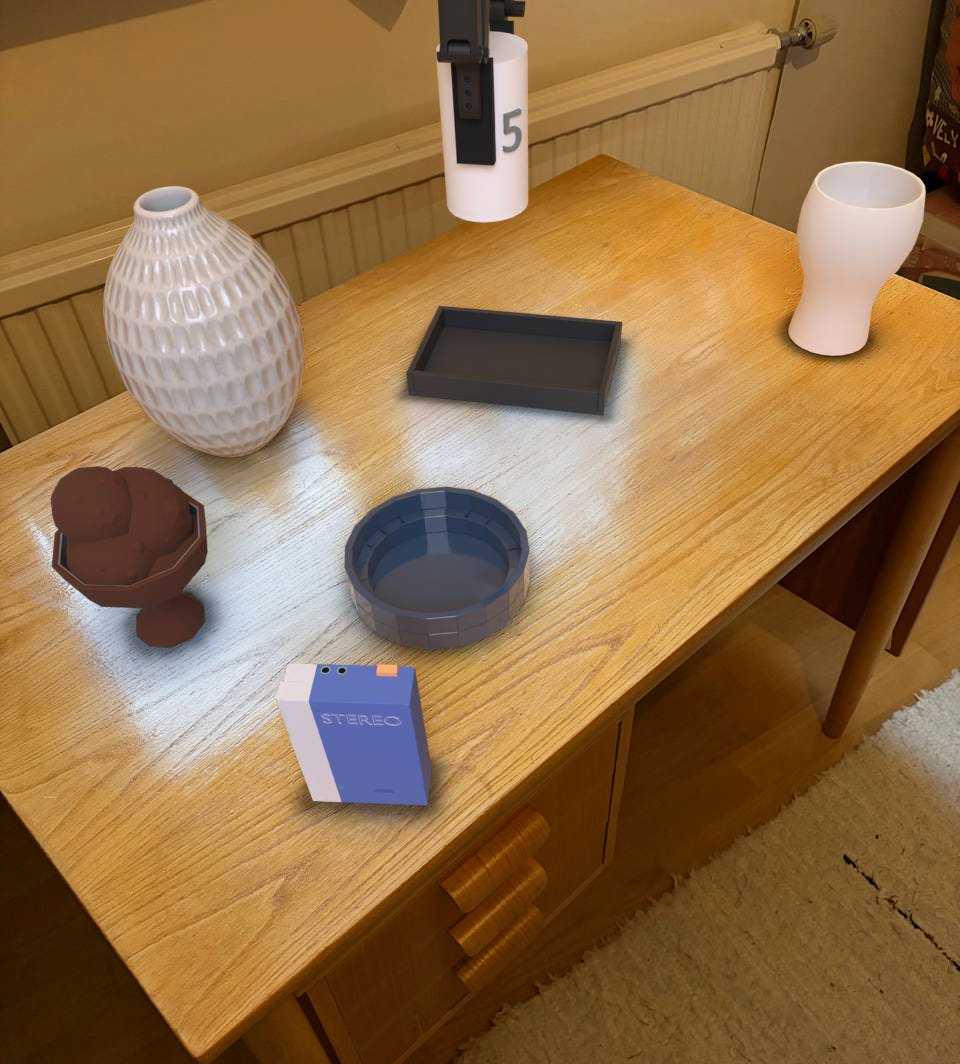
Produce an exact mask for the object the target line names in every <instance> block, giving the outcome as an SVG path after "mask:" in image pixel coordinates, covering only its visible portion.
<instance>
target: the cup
mask: <svg viewBox="0 0 960 1064" xmlns="http://www.w3.org/2000/svg"><path fill="white" fill-rule="evenodd" d="M926 193H927V191H926V186H925V184H924V182H923V181H922V179H921V178H920V177H918V176H917V175H916V174H914V173H913V172H911V171H909V170H906V169H904V168H903V167H899V166H896V165H892V164H890V163H889V164H888V163H883V162H877V161H846V162H842V163H836V164H833V165H831V166H828V167H825V168H824V169H823V170H821V171H819V172H818V173H817V175H816V176H815V177H814V180H813V182H812V183H811V186H810V187H809V190H808V192H807V194H806V196H805V198H804V201H803V202H802V204H801V209H800V213H799V218H798V222H797V228H796V242H797V256H798V260H799V263H800V266H801V270H802V274H803V283H802V290H801V297H800V300H799V301H798V303H797V306H796V308H795V311H794V313H793V314H792V317H791V320H790V323H789V325H788V329H787V330H788V332H787V333H788V336H789V338H790V340H792V342H793V343H794V345H797V346H798V347H800V348H801V349H803V350H805V351H808V352H810V353H814V354H817V355H818V354H819V355H822V356H832V357H833V356H836V357H837V356H845V355H850V354H853V353H855V352H858V351H860V350H861V349H862V348H864V347H865V346H866V343H867V342H868V338H869V332H870V327H871V318H872V309H873V306H874V304H875V303H876V302H875V301H876V300H877V298H878V295H879V294H880V291H881V289H882V288H883V287H884V285H885V284H886V283H887V282H888V281H890V279H891V278H892V277H894V275H895V274H896V273H897V272H898V271H899V270H900V269H901V267H902V265H903V264H904V262H905V261H906V259H907V258H908V257H909V255H910V253H911V252H912V250H913V249H914V248H915V247H914V246H915V245H916V243H917V240H918V237H919V235H920V231H921V228H922V225H923V223H924V214H925V206H926V205H925V204H926Z"/></svg>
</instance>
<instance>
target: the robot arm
mask: <svg viewBox="0 0 960 1064" xmlns="http://www.w3.org/2000/svg"><path fill="white" fill-rule="evenodd" d="M437 13H438V28H439V29H438V30H439V31H438V34H439V44H440V50H439V51H436V50H435V54H436V53H437V60H438V62H439V63H451V77H452V93H453V110H454V126H455V142H456V159H457V164H474V165H493V166H494V164H495V162H496V137H495V102H494V67H493V57H489V54H490V51H489V26H490V31H493V32H504V33H510V34H513V35H515V20H509V18H524V17H525V13H526V0H437Z"/></svg>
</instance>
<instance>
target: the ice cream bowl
mask: <svg viewBox="0 0 960 1064" xmlns="http://www.w3.org/2000/svg"><path fill="white" fill-rule="evenodd" d="M50 507H51V516H52V519H53V523H54V526H55V528H57V530H56V531H55V533H54V534H53V535H54V537H53V548H52V559H51V568H52V569H53V570H54V571H55V573H57V574H58V575H59V576H60V577H61V578H62V579H63V580H64V581H65V582H66V583H68V584H69V585H70V586H71V587H73V588H74V589H75V590H76V591H78V592H79V593H80V594H81V595H82V596H84V597H85V598H86V599H87V600H88V601H90V602H91V603H93V604H95V605H97V606H99V607H101V608H118V609H119V608H121V609H140V611H138V613H137V614H136V615H135V616H136V617H135V634H136V635H135V636H136V637H137V638H138V639H139V640H140V641H142V642H143V643H144V644H145V645H146V646H147V647H148V648H162V649H163V648H169V649H172V648H174V647H176V646H178V645H181V644H183V643H185V642H187V641H190V640H192V639H193V638H194V637H195V636H196V635H197V633H198V632H199V631H200V630H201V628H202V626H203V625H204V624H205V623H206V620H205V618H206V617H205V606H204V605H203V604H202V603H201V602H199V601H198V600H197V599H195V598H194V597H193V596H191V595H190V594H189V593H186V592H185V593H184V592H183V590H185V588H186V587H187V586H188V585H189V584H190V583H191V581H192V580H193V579H194V577H196V575H197V574H198V572H199V571H200V570H201V569H202V568H203V566H204V565H205V564H206V561H207V556H208V552H209V551H208V550H209V549H208V548H209V547H208V535H207V534H208V533H207V520H206V512H205V505H204V504H203V503H201V502H200V501H199V500H197V499H196V498H194V497H192V496H191V495H190V494H188V493H187V492H186V491H183V489H182V488H181V487H180V486H178V485H177V484H175V483H174V481H173V480H172V479H170V478H168V477H166V476H164V475H162V474H161V473H160V472H158V471H156V470H155V469H153V468H147V467H139V466H123V467H120V468H118V469H115V470H113V469H111V468H109V467H105V466H100V465H99V466H98V465H96V466H95V465H94V466H85V467H77V468H74V469H73V470H71V471H69V472H68V473H66V474H65V475H64V476H62V477H61V478H59V480H58V482H57V484H56V486H55V487H54V489H53V490H52V493H51V496H50ZM182 592H183V593H182Z"/></svg>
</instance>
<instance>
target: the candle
mask: <svg viewBox="0 0 960 1064" xmlns="http://www.w3.org/2000/svg"><path fill="white" fill-rule="evenodd" d="M439 50H440V43H438V45H437V46H436V48H435V59H436V60H435V61H436V73H437V85H438V86H437V87H438V101H439V114H440V129H441V141H442V142H441V143H442V152H443V153H442V155H443V165H444V166H443V168H444V169H443V170H444V184H445V196H446V207H447V209H448V211H449V212H450V213H451V214H452V215H453V216H454V217H456V218H459V219H461V220H463V221H464V220H465V221H468V222H474V223H495V222H500V221H505V220H508V219H513V218H514V217H516V216H518V215H520V214H521V213H523V211H525V210H526V209H527V207H528V206H529V45H528V42H527V41H526V40H525V39H524V38H523V37H520V36H519V35H516V34H514V35H513V34H510V33H504V32H493V31H490V26H489V51H490V54H489V57H493V67H494V102H495V137H496V162H495V164H494V166H493V165H474V164H457V159H456V142H455V126H454V110H453V93H452V77H451V63H439V62H438V60H437V53H436V51H439Z"/></svg>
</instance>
